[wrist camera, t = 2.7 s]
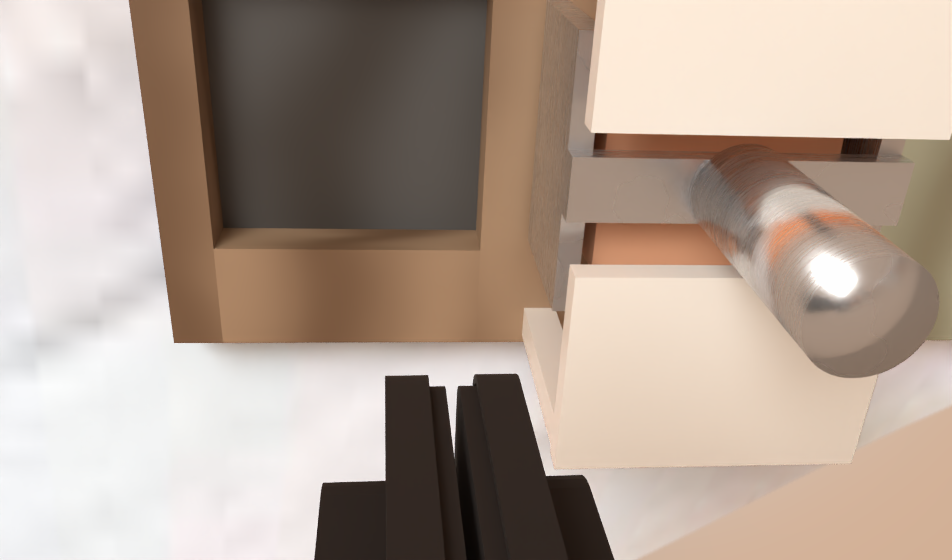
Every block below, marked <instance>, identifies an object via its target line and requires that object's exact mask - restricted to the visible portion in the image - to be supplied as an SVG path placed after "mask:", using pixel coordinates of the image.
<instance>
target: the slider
mask: <svg viewBox="0 0 952 560" xmlns="http://www.w3.org/2000/svg"><path fill="white" fill-rule="evenodd" d="M594 28H595V21H594V20H593V19H591V18H590V17H589V16H588V15H587V14H585V13H584V12H583V11H582V10H581V9H579V8H578V7H577V6H576V5H575V4H573V3H572V2H571V1H570V0H547V4H546V17H545V30H544V43H543V55H542V68H541V81H540V93H539V106H538V119H537V131H536V144H535V157H534V169H533V182H532V195H531V208H530V220H529V233H528V242H529V245H530V248H531V250H532V253H533V256H534V259H535V262H536V265H537V268H538V271H539V274H540V277H541V280H542V283H543V286H544V289H545V292H546V295H547V297H548V300H549V303H550V306H551V309H552V311H565V306H566V296H567V286H568V277H569V267H570V264H581V255H582V246H583V237H584V228H585V223H668V224H699V225H700V226H701V227H702V229H703V230H704V231H705V232H706V234H707V235H708V236H709V237H710V238H711V240H712V241H713V242H714V243H715V245H716V246H717V247H718V248H719V249H720V251H721V252H722V253H723V254H724V255H725V257H726V258H727V259H728V260H729V262H730V263H731V264H732V265H733V266H734V268H735V269H736V270H737V271H738V273H739V274H740V275H741V276H742V277H743V279H744V280H745V281H746V282H747V284H748V285H749V286H750V287H751V288H752V290H753V291H754V292H755V293H756V294H757V296H758V297H759V298H760V299H761V301H762V302H763V303H764V304H765V305H766V307H767V308H768V309H769V310H770V312H771V313H772V314H773V315H774V316H775V318H776V319H777V320H778V321H779V323H780V324H781V325H782V326H783V327H784V329H785V330H786V331H787V332H788V333H789V335H790V336H791V337H792V338H793V340H794V341H795V342H796V343H797V344H798V346H799V347H800V348H801V349H802V351H803V352H804V353H805V354H806V355H807V357H808V358H809V359H810V360H811V362H812V363H814V364H815V365H816V366H817V367H818V368H819V369H821V370H822V371H824V372H826V373H828V374H831V375H834V376H837V377H843V378H863V377H869V376H873V375H876V374H880V373H882V372H885V371H887V370H889V369H891V368H893V367H895V366H897V365H899V364H900V363H902V362H903V361H905V360H906V359H907V358H909V357H910V356H911V355H912V354H913V353H914V352H915V351H916V350H917V349H918V348H919V347H920V346H921V345H922V344H923V343H924V341H925V340H926V338H927V337H928V336H929V334H930V332H931V330H932V328H933V326H934V324H935V321H936V319H937V315H938V311H939V292H938V288H937V285H936V282H935V280H934V279H933V277H932V275H931V274H930V273H929V272H928V271H927V269H925V268H924V267H923V266H922V265H920V264H919V263H918V262H917V261H915V260H914V259H913V258H911V257H910V256H909V255H908V254H906V253H905V252H904V251H902V250H901V249H900V248H899V247H897V246H896V245H895V244H893V243H892V242H891V241H890V240H888V239H887V238H886V237H884V236H883V235H882V234H881V233H880V231H881V227H882V226H897V224H898V221H899V217H900V214H901V210H902V207H903V203H904V200H905V197H906V193H907V190H908V186H909V183H910V179H911V176H912V172H913V169H914V165H915V163H914V162H913V161H911V160H909V159H907V158H906V157H904V156H902V152H903V148H904V145H905V141H906V139H877V138H844V141H843V145H842V149H841V153H840V154H816V153H777V152H775V151H774V150H772V149H771V148H769V147H766V146H763V145H759V144H751V143H750V144H740V145H735V146H732V147H729V148H727V149H725V150H723V151H721V152H705V151H649V150H594V149H593V146H594V137H595V133H591V132H590V131H589V129H588V128H587V126H586V125H585V114H586V104H587V95H588V85H589V75H590V66H591V56H592V47H593V37H594Z"/></svg>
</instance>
